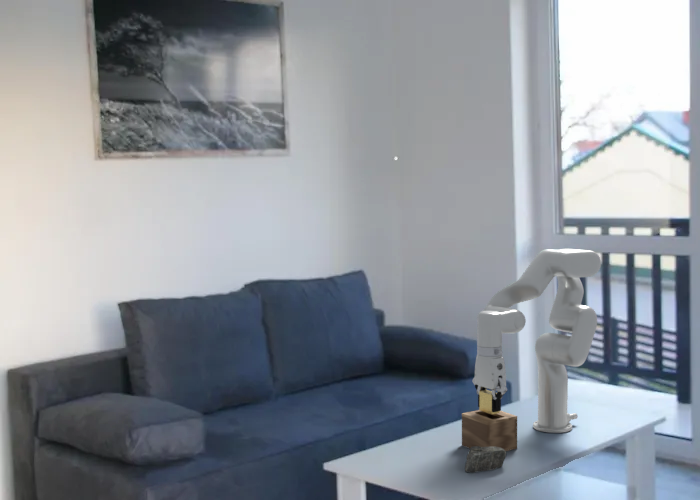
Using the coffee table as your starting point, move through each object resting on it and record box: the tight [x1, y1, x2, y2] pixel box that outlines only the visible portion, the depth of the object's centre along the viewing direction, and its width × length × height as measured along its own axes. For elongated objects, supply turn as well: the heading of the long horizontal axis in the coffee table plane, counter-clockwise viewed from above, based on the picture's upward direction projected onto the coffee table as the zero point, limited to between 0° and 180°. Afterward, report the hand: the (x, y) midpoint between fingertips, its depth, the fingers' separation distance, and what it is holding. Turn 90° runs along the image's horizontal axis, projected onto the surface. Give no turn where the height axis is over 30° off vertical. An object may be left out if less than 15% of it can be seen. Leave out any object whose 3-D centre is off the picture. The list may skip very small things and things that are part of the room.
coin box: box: [461, 409, 518, 452], centre depth 281 cm, size 12×12×10 cm
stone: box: [464, 446, 507, 474], centre depth 263 cm, size 14×7×10 cm, turn 125°
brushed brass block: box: [478, 389, 499, 414], centre depth 281 cm, size 3×6×6 cm, turn 31°
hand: (489, 408), depth 281 cm, fingers closed on brushed brass block, 5 cm apart
